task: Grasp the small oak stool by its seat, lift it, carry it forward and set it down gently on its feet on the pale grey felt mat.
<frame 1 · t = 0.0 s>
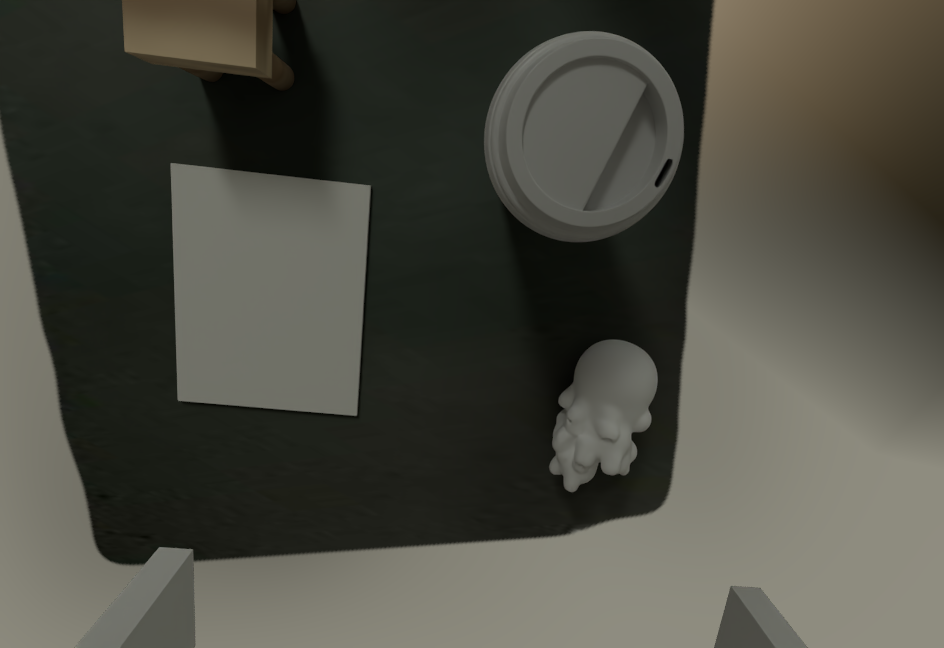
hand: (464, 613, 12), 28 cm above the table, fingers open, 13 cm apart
mat: (271, 296, 38), on the table
coffee cup: (538, 162, 37), on the table
figurine: (591, 398, 42), on the table
stool: (245, 33, 34), on the table
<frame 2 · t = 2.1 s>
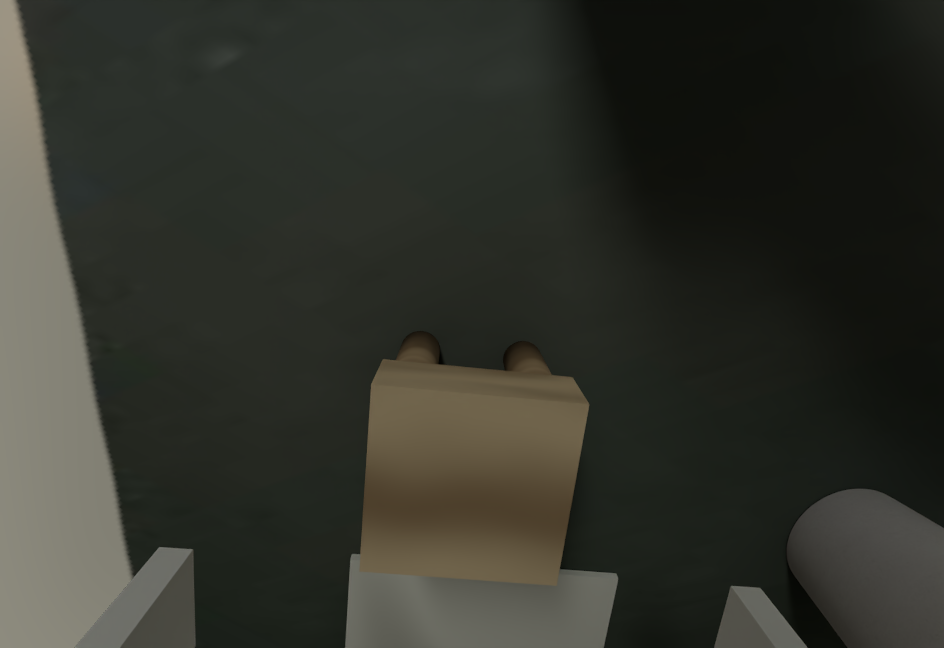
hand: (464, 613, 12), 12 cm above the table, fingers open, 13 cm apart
coffee cup: (843, 539, 27), on the table
stool: (466, 402, 24), on the table
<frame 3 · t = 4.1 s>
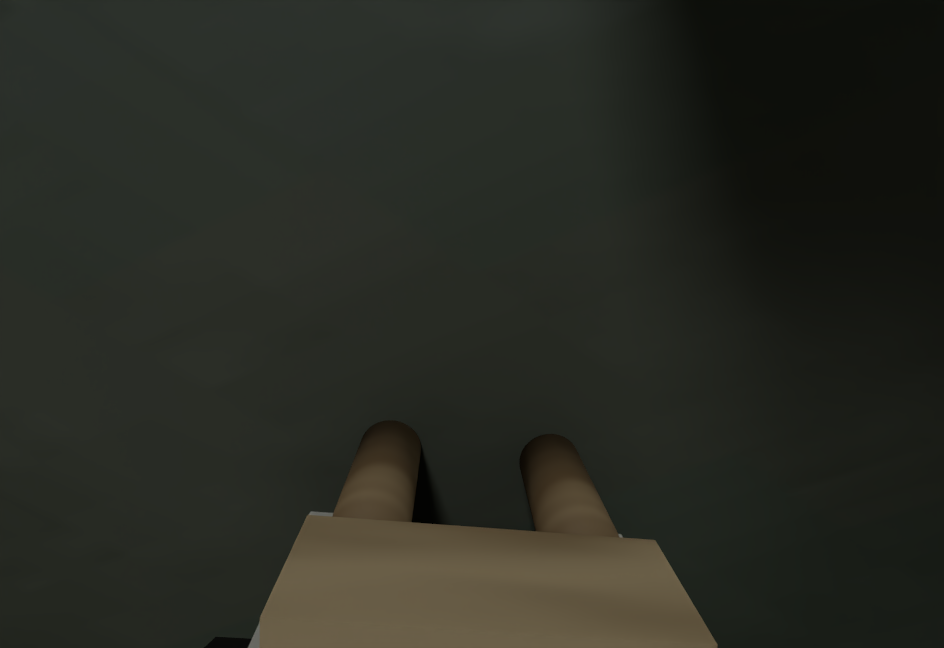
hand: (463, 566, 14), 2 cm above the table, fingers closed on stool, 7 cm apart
stool: (462, 524, 16), on the table, touching gripper
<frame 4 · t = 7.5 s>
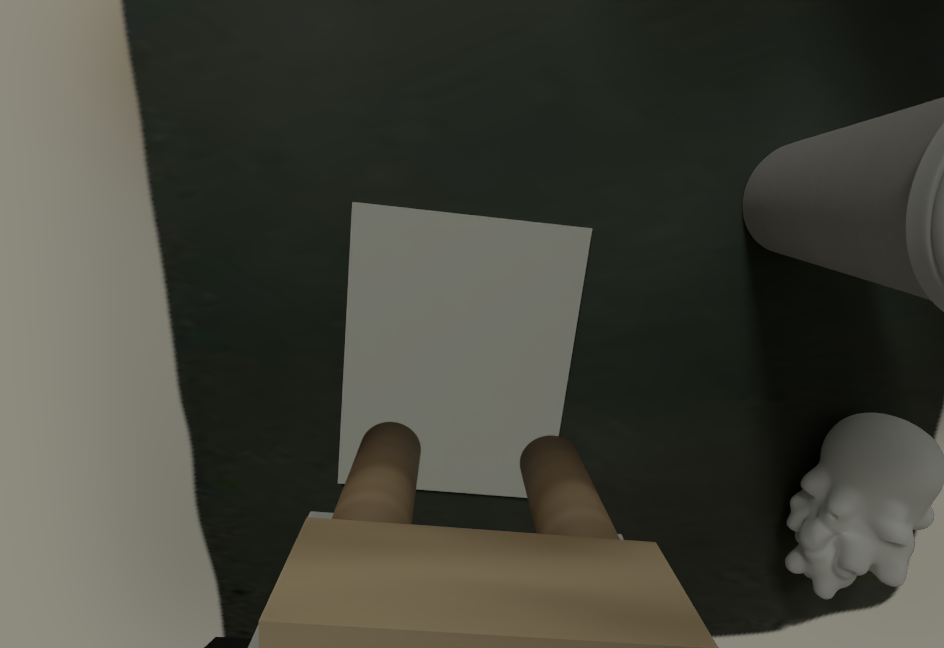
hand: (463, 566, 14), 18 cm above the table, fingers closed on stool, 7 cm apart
mat: (458, 360, 32), on the table
coffee cup: (793, 199, 30), on the table
figurine: (822, 475, 35), on the table
stool: (462, 525, 16), point 16 cm above the table, touching gripper
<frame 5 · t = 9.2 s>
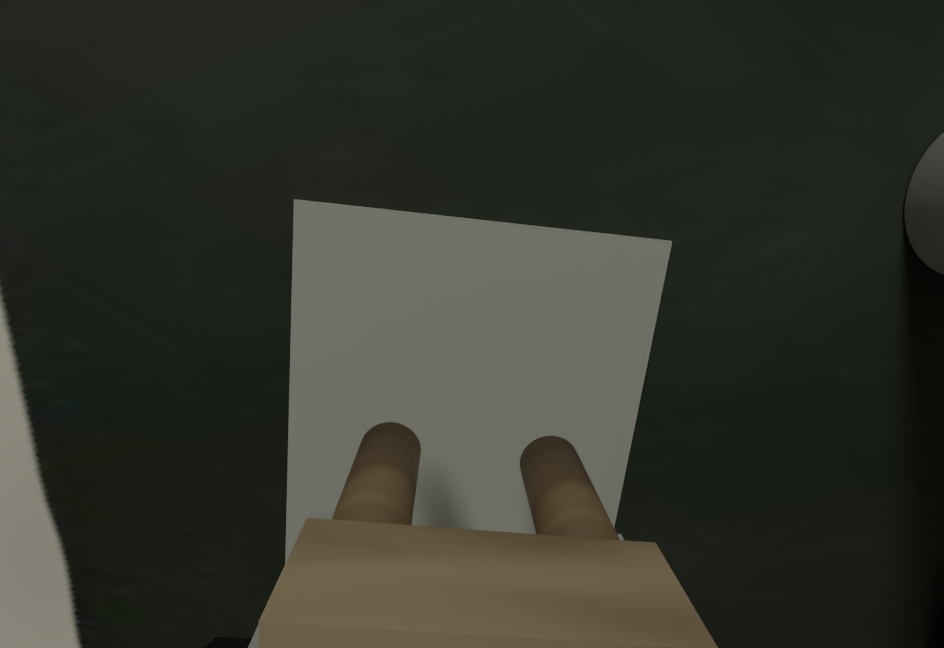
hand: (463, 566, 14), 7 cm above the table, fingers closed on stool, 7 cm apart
mat: (461, 439, 21), on the table
stool: (462, 526, 16), point 6 cm above the table, touching gripper
when the fingers open (3 cm above the table, at t = 10.9 s): stool stays where it is, resting on mat.
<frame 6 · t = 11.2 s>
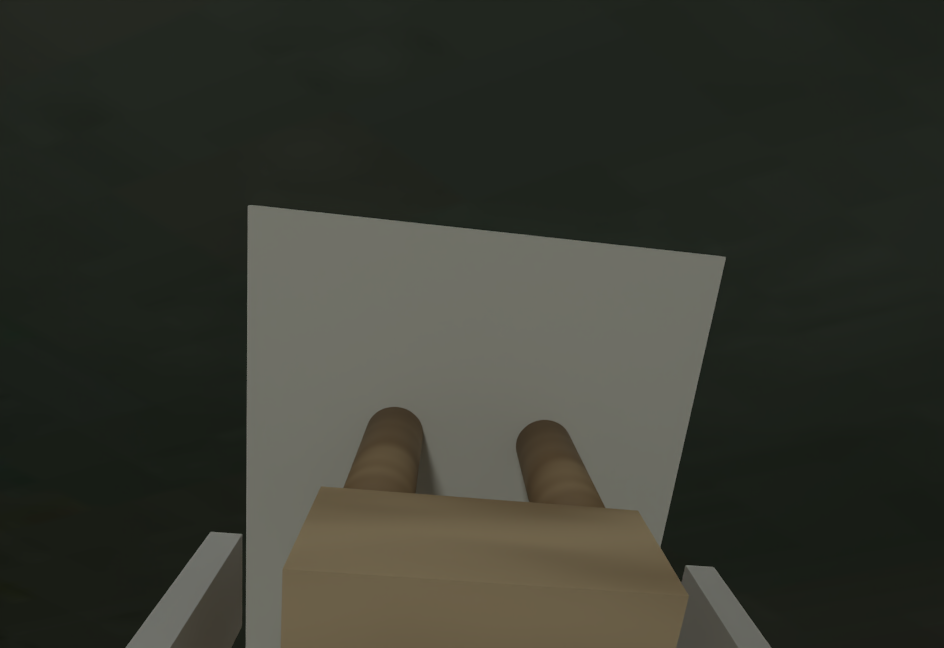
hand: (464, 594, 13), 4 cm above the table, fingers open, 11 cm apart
mat: (461, 498, 17), on the table
stool: (462, 505, 17), resting on mat
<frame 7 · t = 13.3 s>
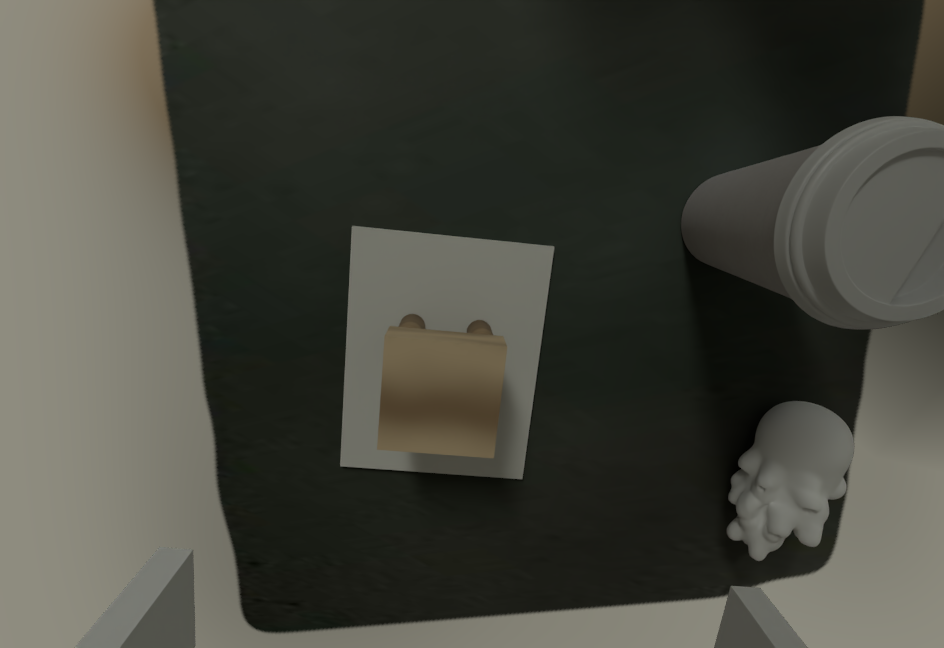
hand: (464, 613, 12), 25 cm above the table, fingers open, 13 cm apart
mat: (442, 359, 37), on the table
coffee cup: (724, 220, 36), on the table
figurine: (760, 457, 40), on the table
stool: (442, 361, 37), resting on mat
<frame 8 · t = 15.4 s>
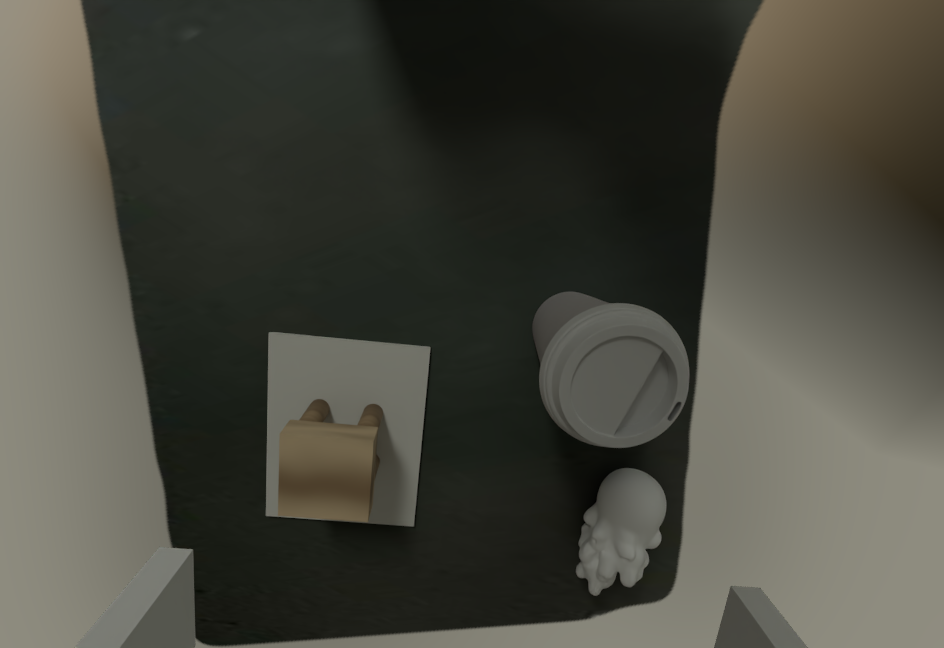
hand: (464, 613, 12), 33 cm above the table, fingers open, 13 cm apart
mat: (346, 433, 46), on the table
coffee cup: (567, 326, 45), on the table
figurine: (609, 509, 50), on the table
stool: (345, 435, 46), resting on mat
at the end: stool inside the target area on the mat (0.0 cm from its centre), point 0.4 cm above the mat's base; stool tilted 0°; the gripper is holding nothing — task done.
